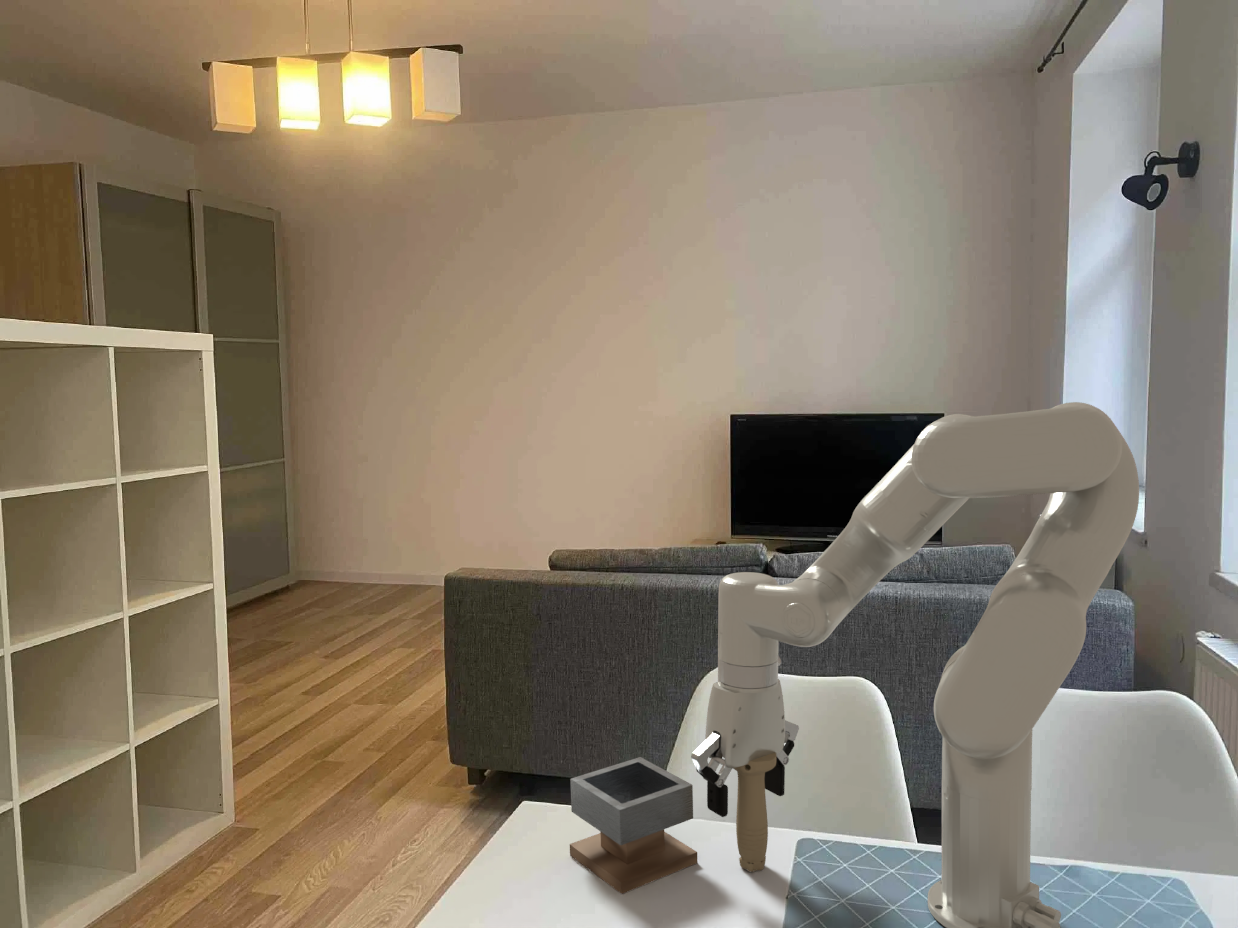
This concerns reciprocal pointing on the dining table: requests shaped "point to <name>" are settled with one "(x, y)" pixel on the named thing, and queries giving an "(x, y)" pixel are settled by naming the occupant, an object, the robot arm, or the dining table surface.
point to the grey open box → (631, 800)
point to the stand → (633, 859)
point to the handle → (753, 812)
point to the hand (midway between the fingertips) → (746, 801)
